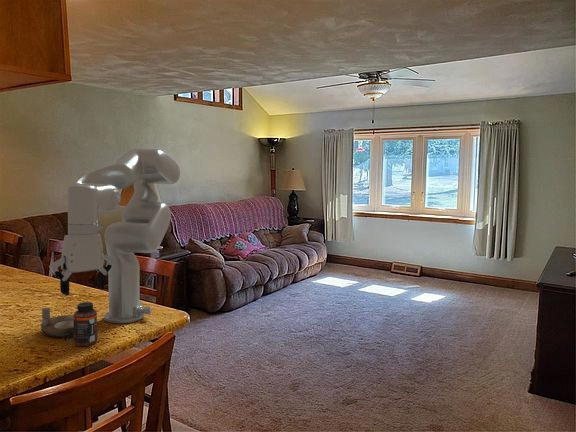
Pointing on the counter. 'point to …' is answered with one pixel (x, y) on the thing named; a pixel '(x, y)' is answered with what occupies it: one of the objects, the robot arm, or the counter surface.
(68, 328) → the turntable
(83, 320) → the supplement bottle
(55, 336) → the turntable base
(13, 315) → the counter surface
